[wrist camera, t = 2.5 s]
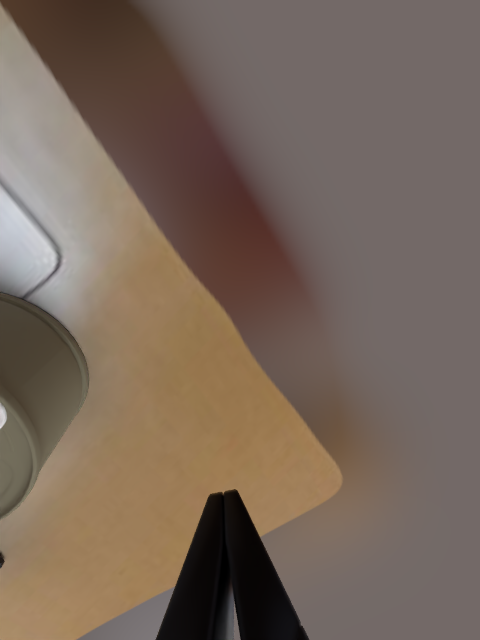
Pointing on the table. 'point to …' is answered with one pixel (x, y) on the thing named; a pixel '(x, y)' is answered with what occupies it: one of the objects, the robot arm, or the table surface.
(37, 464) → the can
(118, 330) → the table surface
